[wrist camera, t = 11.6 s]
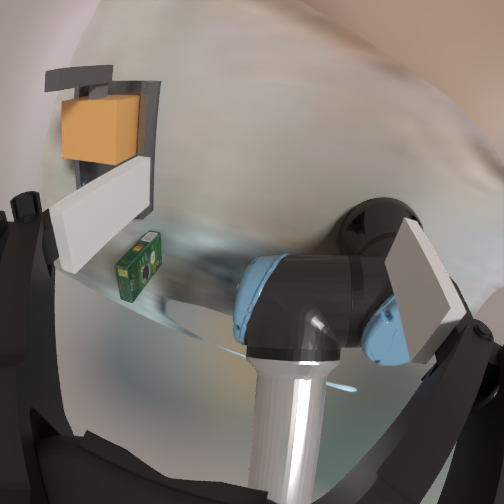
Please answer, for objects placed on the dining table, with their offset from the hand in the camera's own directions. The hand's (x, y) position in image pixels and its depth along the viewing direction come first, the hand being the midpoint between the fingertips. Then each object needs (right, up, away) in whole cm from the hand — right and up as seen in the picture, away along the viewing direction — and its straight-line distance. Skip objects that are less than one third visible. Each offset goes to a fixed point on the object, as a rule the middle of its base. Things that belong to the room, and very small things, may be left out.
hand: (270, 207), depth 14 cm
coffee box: (-20, -1, +44) cm, 48 cm away
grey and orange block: (-24, +23, +28) cm, 43 cm away
